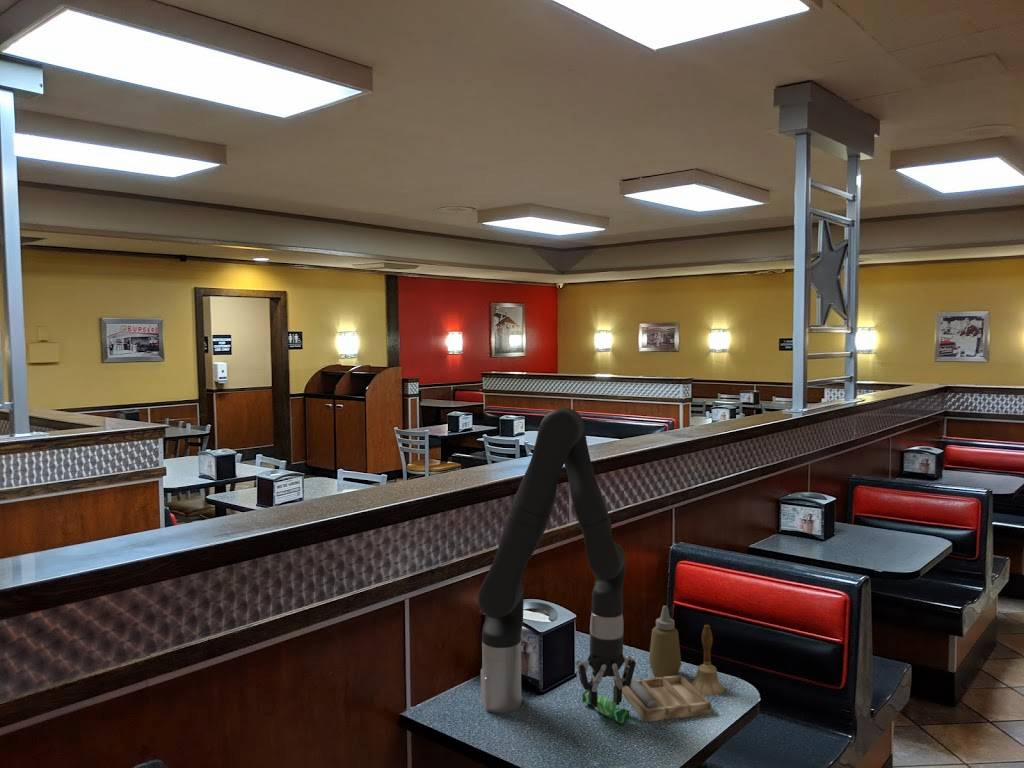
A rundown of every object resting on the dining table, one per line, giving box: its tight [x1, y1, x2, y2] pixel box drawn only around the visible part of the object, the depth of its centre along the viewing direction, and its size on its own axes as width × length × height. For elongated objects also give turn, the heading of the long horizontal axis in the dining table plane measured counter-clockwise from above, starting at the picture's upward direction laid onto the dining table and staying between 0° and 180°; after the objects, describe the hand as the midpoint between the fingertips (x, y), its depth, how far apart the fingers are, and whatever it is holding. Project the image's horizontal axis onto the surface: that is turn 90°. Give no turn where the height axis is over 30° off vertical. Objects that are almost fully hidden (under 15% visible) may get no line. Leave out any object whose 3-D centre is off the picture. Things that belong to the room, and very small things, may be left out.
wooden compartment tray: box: [622, 674, 712, 723], centre depth 175 cm, size 16×15×2 cm
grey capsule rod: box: [631, 681, 658, 709], centre depth 174 cm, size 2×12×2 cm, turn 13°
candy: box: [582, 690, 630, 725], centre depth 170 cm, size 12×3×4 cm, turn 36°
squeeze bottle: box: [648, 605, 682, 678], centre depth 189 cm, size 8×8×18 cm
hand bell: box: [690, 624, 725, 697], centre depth 182 cm, size 8×8×16 cm
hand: (605, 704), depth 170 cm, fingers open, 4 cm apart
